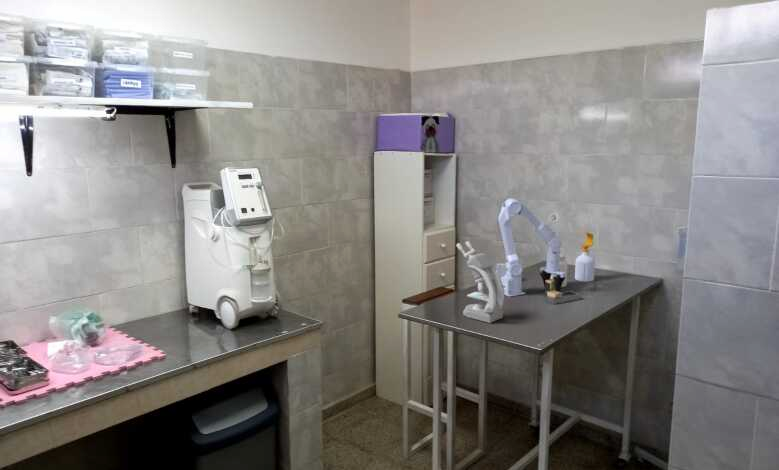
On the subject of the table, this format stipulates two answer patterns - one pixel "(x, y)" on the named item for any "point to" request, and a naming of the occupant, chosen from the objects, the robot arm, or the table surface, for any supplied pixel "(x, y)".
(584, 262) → the soap bottle
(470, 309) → the microscope
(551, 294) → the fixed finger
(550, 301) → the grey rectangular tray
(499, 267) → the medicine box
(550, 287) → the tan wooden block
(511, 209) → the robot arm
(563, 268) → the pill bottle
